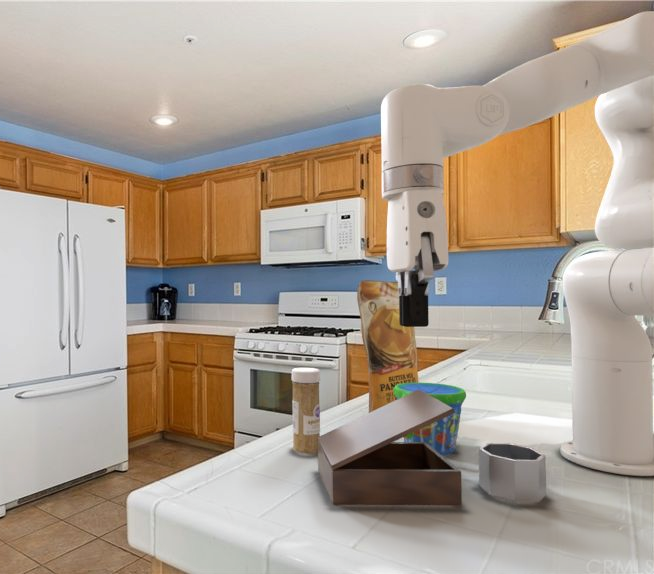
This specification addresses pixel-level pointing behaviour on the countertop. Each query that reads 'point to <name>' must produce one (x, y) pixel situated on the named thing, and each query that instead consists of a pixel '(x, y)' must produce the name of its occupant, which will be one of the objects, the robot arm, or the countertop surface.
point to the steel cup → (512, 472)
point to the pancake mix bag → (385, 341)
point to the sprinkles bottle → (306, 409)
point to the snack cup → (443, 430)
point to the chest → (393, 477)
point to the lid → (382, 427)
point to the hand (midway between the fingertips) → (413, 325)
